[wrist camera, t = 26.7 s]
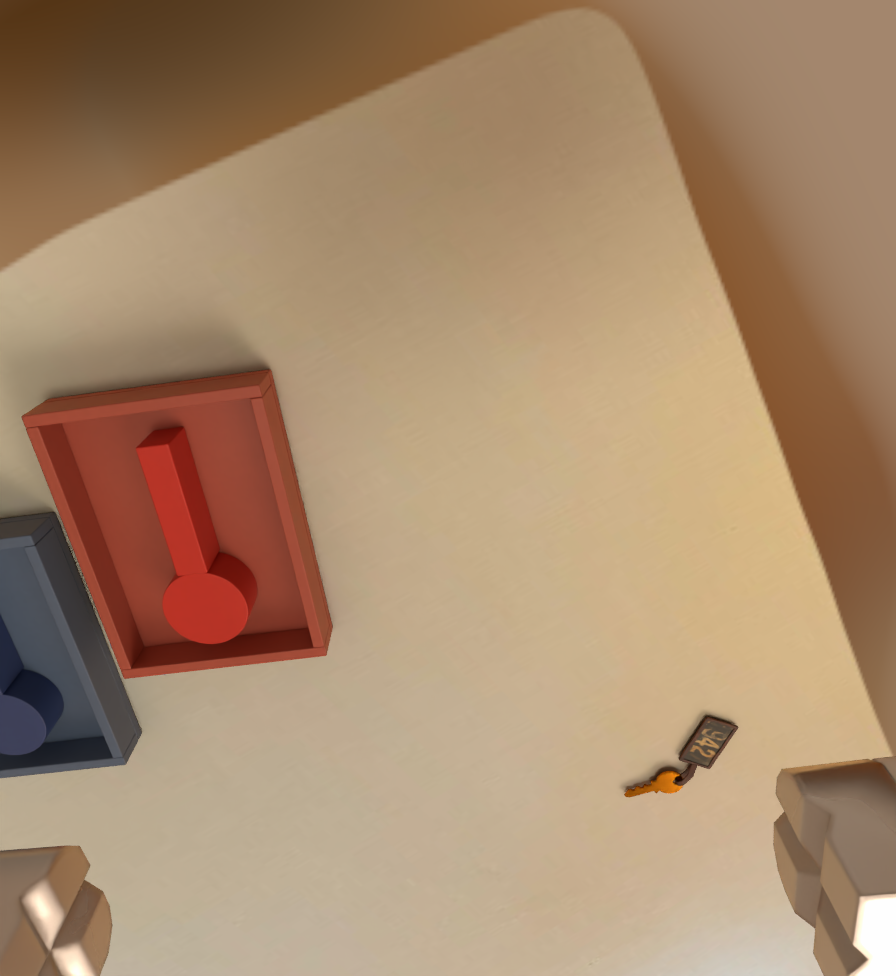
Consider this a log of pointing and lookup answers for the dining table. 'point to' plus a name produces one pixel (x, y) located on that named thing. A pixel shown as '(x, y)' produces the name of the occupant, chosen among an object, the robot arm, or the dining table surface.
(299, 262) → the dining table surface
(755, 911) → the dining table surface
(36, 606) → the blue tray
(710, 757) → the key tag
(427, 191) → the dining table surface
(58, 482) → the red tray
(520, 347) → the dining table surface
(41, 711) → the blue spoon
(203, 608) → the red spoon
